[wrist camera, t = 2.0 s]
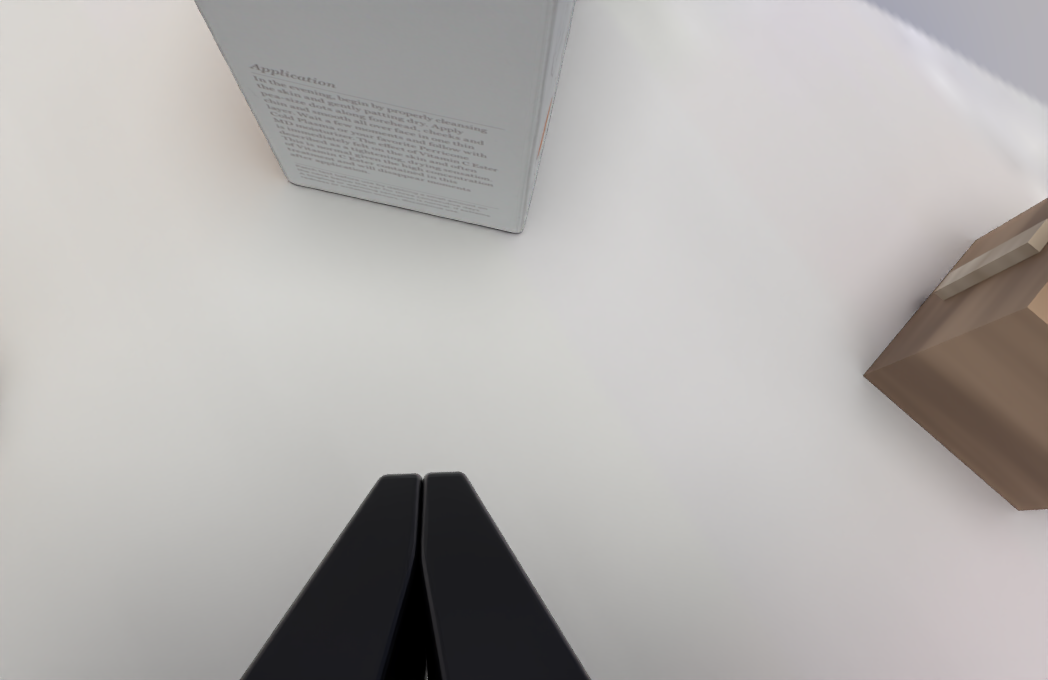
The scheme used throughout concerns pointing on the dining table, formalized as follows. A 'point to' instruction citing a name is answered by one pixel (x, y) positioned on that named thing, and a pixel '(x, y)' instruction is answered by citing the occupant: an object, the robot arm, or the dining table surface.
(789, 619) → the dining table surface
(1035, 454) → the walnut block one
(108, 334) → the dining table surface
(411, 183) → the small box
